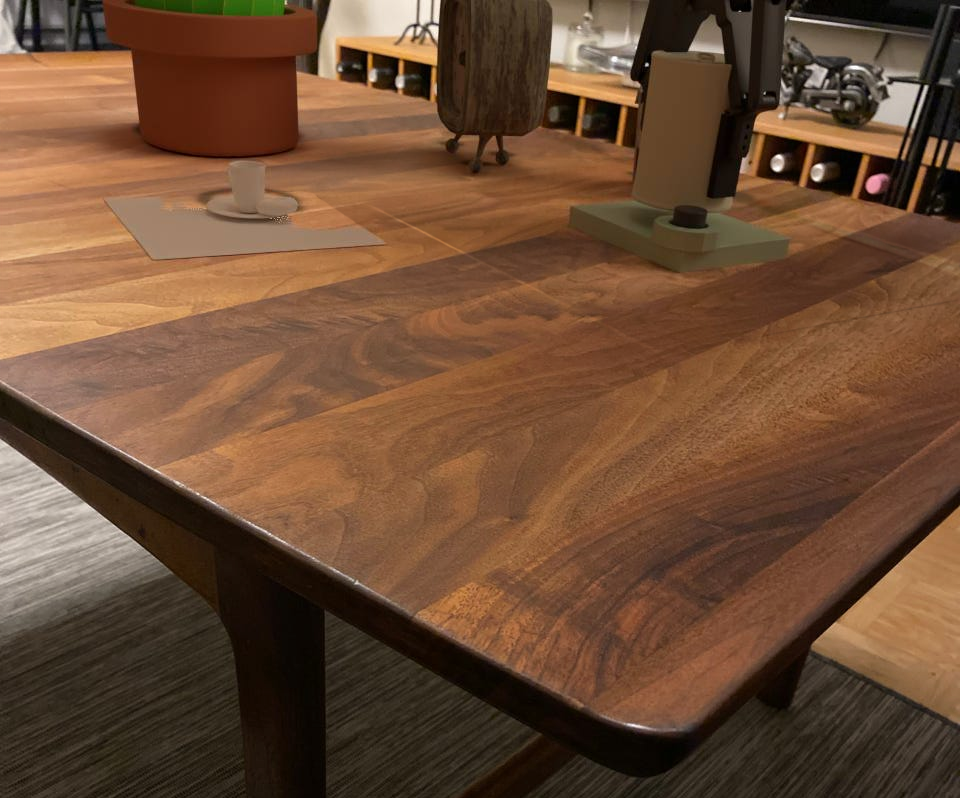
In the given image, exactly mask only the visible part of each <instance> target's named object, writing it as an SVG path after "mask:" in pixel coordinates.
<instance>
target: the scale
mask: <svg viewBox="0 0 960 798" xmlns="http://www.w3.org/2000/svg"><path fill="white" fill-rule="evenodd" d="M673 215H674V211H669V210H663V209H658V208H654V207H650V206H647V205H644V204H642V203H639V202H637V201H636V200H634V199H633V200H622V201H610V202H600V203H587V204H577V205H574V204H573V205H570V206H569V214H568V225H567V226H568V227H570V228H572V229H575V230H577V231H578V232H581V233H584V234H586V235H589V236H590V237H593V238H595V239H598V240H601V241H603V242H605V243H608V244H610V245H613V246H615V247H617V248H619V249H622V250H624V251H626V252H628V253H631V254H634V255H635V256H639V257H640V258H642V259H645V260H647V261H650V262H651V263H655V264H657V265H659V266H662V267H664V268H667V269H669V270H672V271H674V272H675V273H678V274H682V273H683V274H684V273H691V272H698V271H699V272H700V271H705V270H713V269H720V268H726V267H727V268H729V267H734V266H742V265H749V264H758V263H764V262H765V263H766V262H772V261H778V260H780V261H781V260H786V259H787V255H788V251H789V249H790V243H791V237H789V236H786V235H783V234H780V233H777V232H774V231H772V230H769V229H766V228H763V227H760V226H757V225H755V224H752V223H749V222H746V221H744V220H741V219H738V218H735V217H732V216H729V215H726V214H723V213H722V212H717V213H707V218H706V224H705V228H704V229H688V228H683V227H678V226H675V225H672V221H673Z"/></svg>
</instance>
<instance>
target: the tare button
mask: <svg viewBox="0 0 960 798" xmlns="http://www.w3.org/2000/svg"><path fill="white" fill-rule="evenodd" d="M707 213H708V211H707V210H706V209H704V208H701V207H697V206H691V205H679V206H676V207H675V209H674V215H673V221H672V225H675V226H678V227H683V228H688V229H704V228H705V224H706V218H707Z"/></svg>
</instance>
